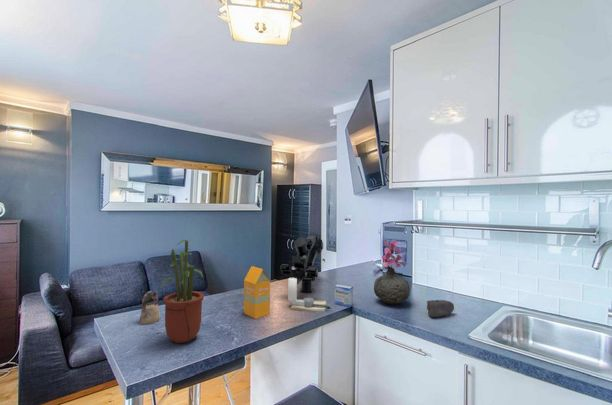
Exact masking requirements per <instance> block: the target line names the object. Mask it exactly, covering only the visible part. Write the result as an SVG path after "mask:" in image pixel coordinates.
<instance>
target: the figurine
mask: <svg viewBox="0 0 612 405" xmlns="http://www.w3.org/2000/svg"><path fill="white" fill-rule="evenodd" d="M156 291H157V290H155V291H154V292H153V291H152V290H149V291H147V292H146V293H145V294H144V295H143V298H142V299H141V302H142V303H141V304H140V306H142V308H141V312H140V317H139V324H140V325H152V324H155V323H157V322H158V321H159V320H160V318H161V314H160V308H159V304H158V302H159V297H158V296H157V294H158V291H157V292H156Z"/></svg>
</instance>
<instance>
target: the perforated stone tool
mask: <svg viewBox="0 0 612 405" xmlns="http://www.w3.org/2000/svg"><path fill="white" fill-rule="evenodd" d="M454 309H455V305H454V303H453V302H451V301H449V300H446V299H435V300H434V299H431V300H427V301H426V310H427V311H428V312H427V314H428V316H430V317H431V318H441V317H446V316H449V315H450V314H452V313H453V312H454Z"/></svg>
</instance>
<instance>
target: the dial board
mask: <svg viewBox="0 0 612 405" xmlns="http://www.w3.org/2000/svg"><path fill="white" fill-rule="evenodd" d="M297 300H304V298H303V299H301V298H297ZM314 304H319V305H328V307H331V305H330V304H329V303H327V300H320V299H314ZM326 309H327V307H318V306H313V307H305V306H301V305H292V304H291V306H290V310H291V311H301V312H303V311H304V312H305V311H306V312H320V313H321V312H323V313H325V312H326ZM329 309H330V310H332V309H333V308H329Z"/></svg>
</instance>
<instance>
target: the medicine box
mask: <svg viewBox="0 0 612 405" xmlns="http://www.w3.org/2000/svg"><path fill="white" fill-rule="evenodd" d="M353 297H354V286H351V285H345V284H336V285H335V286H334V305H339V306H345V307H348V308H349V307H351V306H352V305H354V298H353Z"/></svg>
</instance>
